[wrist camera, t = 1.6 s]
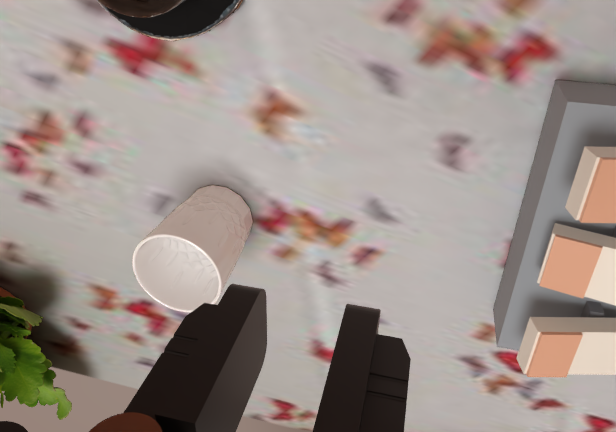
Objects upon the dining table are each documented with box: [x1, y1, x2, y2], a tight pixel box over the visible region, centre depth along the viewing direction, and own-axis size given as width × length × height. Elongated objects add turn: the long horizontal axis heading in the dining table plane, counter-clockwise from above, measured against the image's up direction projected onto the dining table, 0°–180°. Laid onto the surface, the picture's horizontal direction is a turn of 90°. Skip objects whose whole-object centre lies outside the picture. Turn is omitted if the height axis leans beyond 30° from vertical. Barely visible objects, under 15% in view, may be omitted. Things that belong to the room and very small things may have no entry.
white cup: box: [132, 185, 253, 312], centre depth 48 cm, size 8×8×10 cm
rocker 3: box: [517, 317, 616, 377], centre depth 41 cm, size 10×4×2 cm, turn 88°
